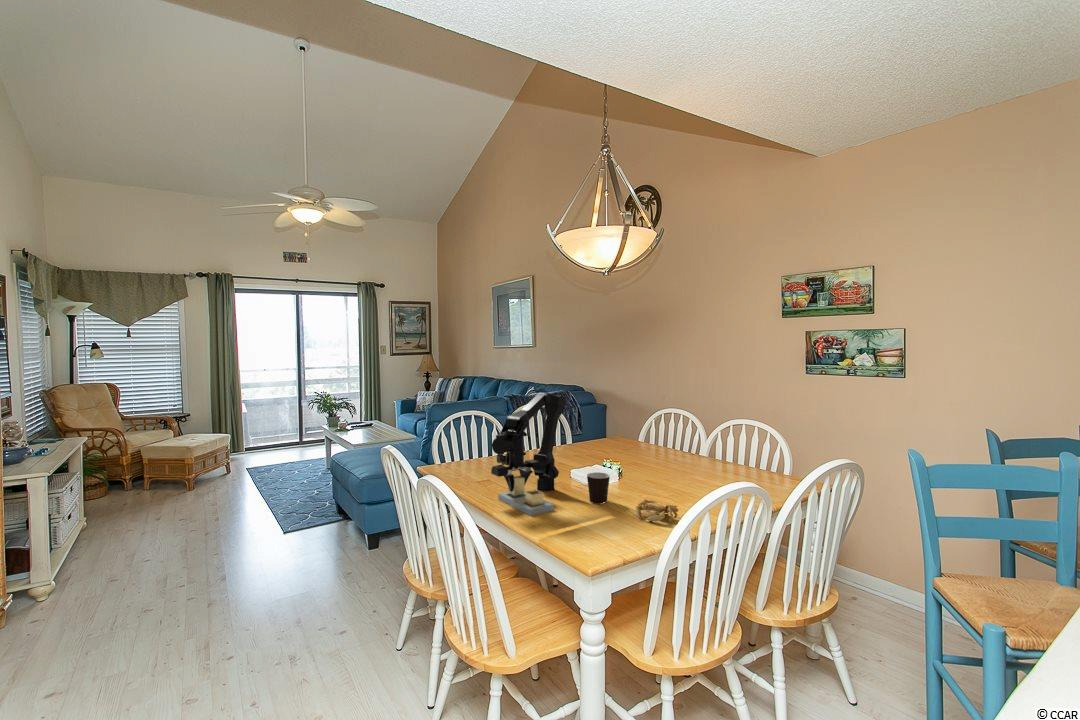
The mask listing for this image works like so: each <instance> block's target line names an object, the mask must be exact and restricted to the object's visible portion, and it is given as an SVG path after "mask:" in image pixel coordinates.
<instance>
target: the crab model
mask: <svg viewBox="0 0 1080 720" xmlns="http://www.w3.org/2000/svg"><path fill="white" fill-rule="evenodd" d="M646 510H648V511H649V512H650V511H653V512H658V513H659V514H654V515H651V516H648V517H647V518H645V520H648V521H649V520H650V521H655V522H659V521H661V520H662V521H663V520H664V519H665V517H666V514H665V513H668V514H669V516H670V517H669V520H671V521H672V520H673V518H675V519H676V518H677V517H678V512H679V509H678V505H672V504H666V505H663V504H660V503H659V502H658V501H653V500H650V499H644V500H643V501H640V503H638V504H637V505H636V506H635V513H636V515H637V517H638V519H639V518H640V519H639V520H641V518H642V519H643V517H642V511H646ZM669 520H668V521H669Z"/></svg>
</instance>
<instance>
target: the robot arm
mask: <svg viewBox="0 0 1080 720" xmlns="http://www.w3.org/2000/svg"><path fill="white" fill-rule="evenodd" d="M566 405H567V401H566V399H565V397H564V396H563V395H557V394H556V395H555V394H550V393H548V392H540V391H539V392H537V393H536V395H535V396H534V398H533V397H532V399H531V400H530V401H529V402H528V403H527V404H526V405H525V406H523V408H521V410H519V411H516V412H515V411H514V412H513V413H512V414H510V415H508V416H507V417H506V419H505V422H504V424H503V427H502V429H501V431H500V434H496V435H495V438H494V439H493V441H492V443H491V449H492V451H493V452H494V454H496V462H497V465H493V466H491V468H490V470H491V474H492V475H494V476H496V477H503V478H504V479H505V482H506V484H507V487H509V490H510V491H511V492H512V490H513V480H514V476H515V474H513V473H512V472H513V471H519V476H522V477H524V486H526V483H527V481H528V480H529V478H530V477H531V476H530V475H531V474H534V476H535V477H536V476H538V478H537V479H536V490H537V491H541V492H550V491H555V479H556V478H557V477H559V474H560V471H559V469H557V466H555V460H556V459H555V458H554V455H553V454H554V453H553V450H554V446H555V445H554V444H555V439H556V435H557V434H556V433H557V429H558V422H559V418H560V417H561V416H562V414H564V411H565V407H566ZM543 407H544V408H543ZM541 409H544V412H545V415H546V417H545V422H544V428H543V434H542V439H541V443H540V448H539V451H538V452H537V453H534V455H533V459H526V460H525V456H526V454H527V452H526V451H525V445H524V444H525V443H524V442H525V441H524V440H525V437H527V436H528V433H527V432H525V430H526V429H527V427H528V426H529V425H530V420H531V419H532V418H533V417H534V416H535V415H536V414H537V413H538V412H539V411H540V410H541ZM504 453H505V454H506V455H504Z"/></svg>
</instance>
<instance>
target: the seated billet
mask: <svg viewBox="0 0 1080 720" xmlns="http://www.w3.org/2000/svg"><path fill="white" fill-rule="evenodd" d="M525 492H526V505H528V506H530V507H536V506H540V505H543V500H544V494H543V491H541V490H537V489H534V490H529V491H525Z"/></svg>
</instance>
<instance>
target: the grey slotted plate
mask: <svg viewBox="0 0 1080 720" xmlns="http://www.w3.org/2000/svg"><path fill="white" fill-rule="evenodd" d="M526 492H527V491H525V493H524V494H520V495H515V496H514V495H512V494H510V493H508V491H507V492H503V493H502V492H500V493H498V494H497V499H498V501H500V502H503V504H504V503H505V504H506V505H508V506H510V507H512V508H514V509H516V510H518V511H519V512H522V513H524V514H526V515H528V516H530V517H532V516H536V515H540V514H544V513H548V512H552V511H554V510H555V505H554V504H553V503H551V502H549V501H547V500H545V499H543V505H540V506H536V507H530V506H528V505H526Z"/></svg>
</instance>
